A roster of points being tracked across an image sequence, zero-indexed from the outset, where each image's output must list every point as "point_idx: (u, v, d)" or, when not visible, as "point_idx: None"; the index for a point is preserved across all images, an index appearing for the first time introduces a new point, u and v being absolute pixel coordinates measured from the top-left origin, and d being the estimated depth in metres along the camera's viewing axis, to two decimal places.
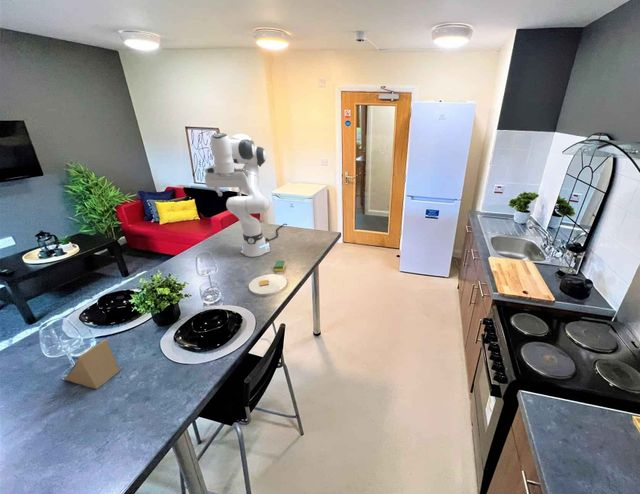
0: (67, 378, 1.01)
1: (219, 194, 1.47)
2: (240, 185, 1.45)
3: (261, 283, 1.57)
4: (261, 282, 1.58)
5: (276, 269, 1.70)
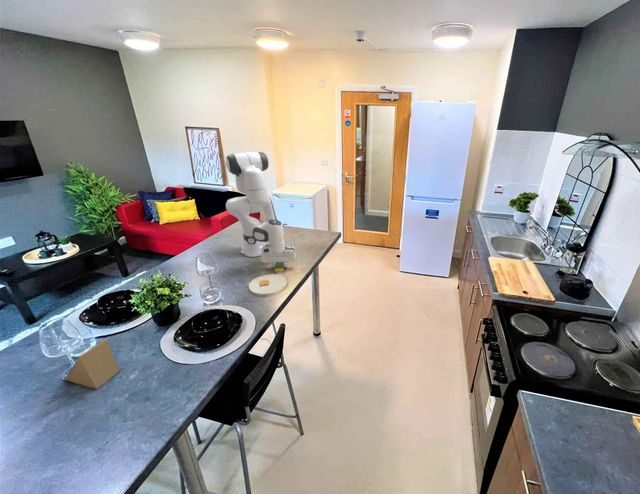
0: (67, 378, 1.01)
1: None
2: (289, 260, 1.71)
3: (261, 283, 1.57)
4: (261, 282, 1.58)
5: (276, 269, 1.70)
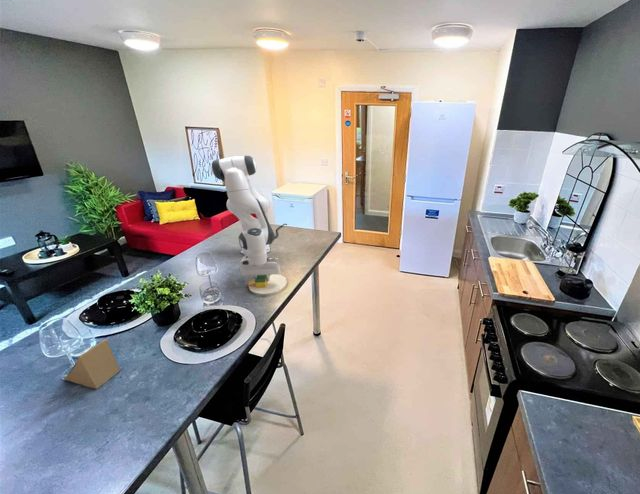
0: (67, 378, 1.01)
1: None
2: (272, 273, 1.54)
3: (250, 283, 1.56)
4: (250, 282, 1.57)
5: (257, 283, 1.53)
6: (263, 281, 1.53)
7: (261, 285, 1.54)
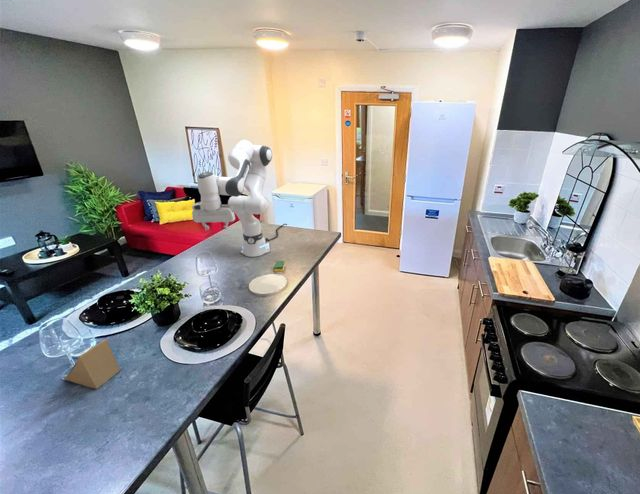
0: (67, 378, 1.01)
1: (206, 228, 1.54)
2: (226, 220, 1.52)
3: None
4: None
5: (276, 269, 1.70)
6: (281, 268, 1.70)
7: (279, 271, 1.70)
